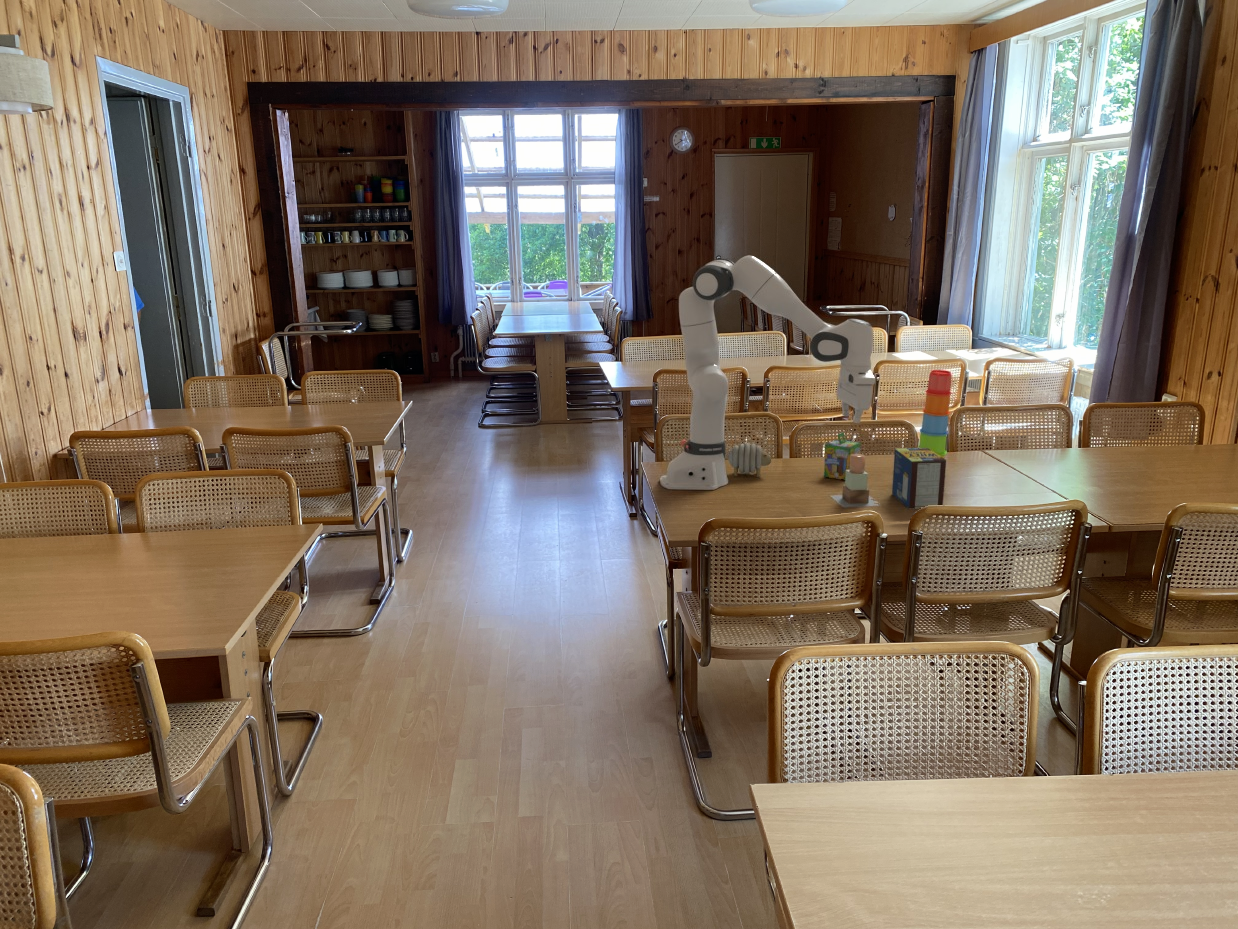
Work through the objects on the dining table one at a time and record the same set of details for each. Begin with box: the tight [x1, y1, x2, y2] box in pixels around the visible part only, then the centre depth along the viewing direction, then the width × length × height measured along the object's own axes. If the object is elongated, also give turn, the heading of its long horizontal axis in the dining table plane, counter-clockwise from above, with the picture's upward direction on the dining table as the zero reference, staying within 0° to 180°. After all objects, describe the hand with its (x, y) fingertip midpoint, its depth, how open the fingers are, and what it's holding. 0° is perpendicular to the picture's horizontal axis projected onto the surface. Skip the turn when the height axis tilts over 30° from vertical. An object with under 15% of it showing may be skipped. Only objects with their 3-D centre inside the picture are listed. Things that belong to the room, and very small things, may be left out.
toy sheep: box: [724, 442, 772, 478], centre depth 304 cm, size 11×17×11 cm, turn 84°
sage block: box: [844, 470, 869, 490], centre depth 272 cm, size 5×5×5 cm
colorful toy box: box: [823, 431, 861, 480], centre depth 300 cm, size 9×9×15 cm
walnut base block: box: [841, 484, 870, 504], centre depth 273 cm, size 6×6×4 cm
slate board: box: [829, 494, 879, 508], centre depth 273 cm, size 12×12×1 cm
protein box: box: [891, 447, 947, 510], centre depth 270 cm, size 10×15×16 cm
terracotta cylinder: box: [849, 453, 866, 474], centre depth 270 cm, size 4×4×5 cm
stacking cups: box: [917, 369, 953, 459], centre depth 301 cm, size 10×10×35 cm
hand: (850, 419), depth 273 cm, fingers open, 8 cm apart
